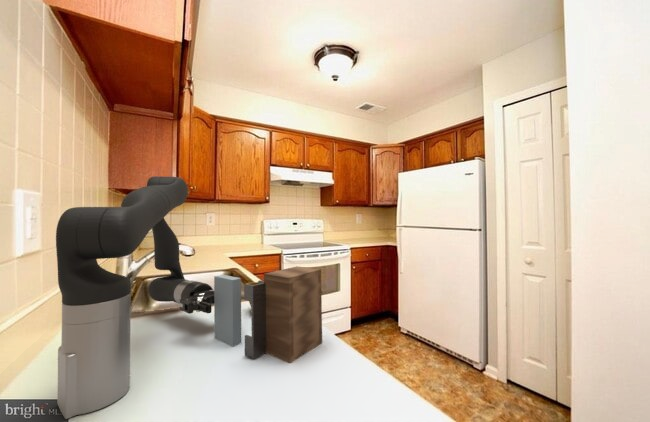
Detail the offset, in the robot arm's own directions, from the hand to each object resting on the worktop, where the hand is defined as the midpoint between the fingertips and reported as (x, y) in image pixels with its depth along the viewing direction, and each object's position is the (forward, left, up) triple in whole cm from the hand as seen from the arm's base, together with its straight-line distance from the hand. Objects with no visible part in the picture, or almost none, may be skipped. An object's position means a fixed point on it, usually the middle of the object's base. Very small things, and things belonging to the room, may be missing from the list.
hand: (225, 304), depth 69 cm
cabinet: (+7, -17, -9) cm, 21 cm away
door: (0, -1, -9) cm, 9 cm away
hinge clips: (0, -12, -9) cm, 15 cm away
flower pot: (+19, +9, -9) cm, 23 cm away
